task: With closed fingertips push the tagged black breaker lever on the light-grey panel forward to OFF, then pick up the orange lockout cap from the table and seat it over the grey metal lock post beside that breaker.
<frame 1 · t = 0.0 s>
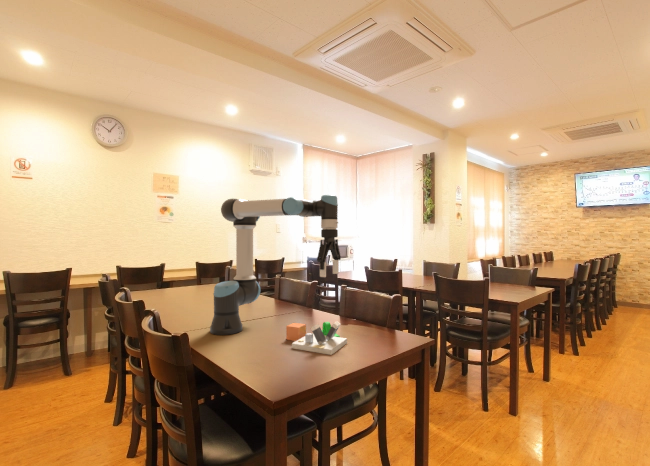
hand: (329, 275, 156), 28 cm above the table, fingers open, 13 cm apart
lock post: (309, 347, 141), resting on panel
panel: (320, 345, 143), on the table
lever plain: (332, 330, 144), point 6 cm above the table, hinge at 30.0°
lever tagged: (318, 334, 139), point 6 cm above the table, hinge at -30.0°
mechanical part: (328, 337, 156), on the table
lockout cap: (296, 338, 153), on the table
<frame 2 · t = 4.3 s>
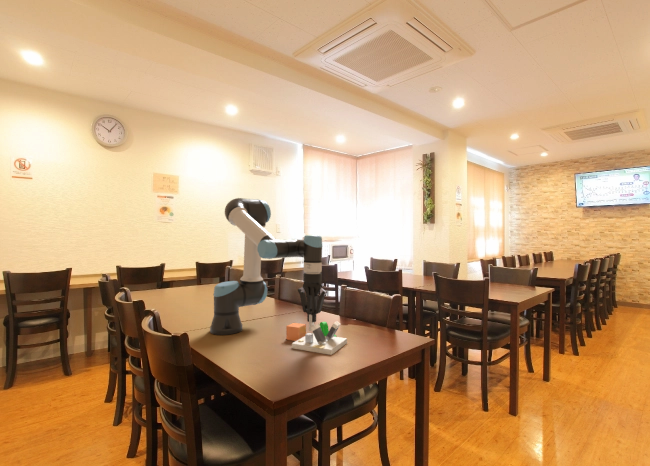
hand: (311, 329, 140), 7 cm above the table, fingers closed
lever tagged: (318, 334, 139), point 6 cm above the table, hinge at -29.4°, touching gripper
mechanical part: (324, 337, 156), on the table, touching panel
everything else where it was.
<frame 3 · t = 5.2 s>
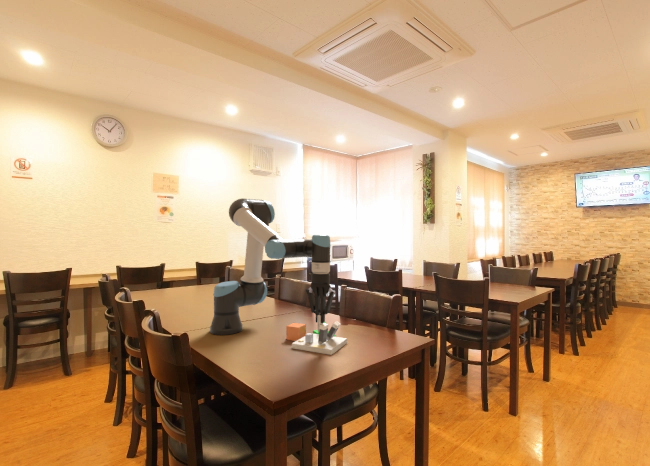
hand: (320, 330, 138), 8 cm above the table, fingers closed
lever tagged: (323, 333, 138), point 6 cm above the table, hinge at 8.2°, touching gripper
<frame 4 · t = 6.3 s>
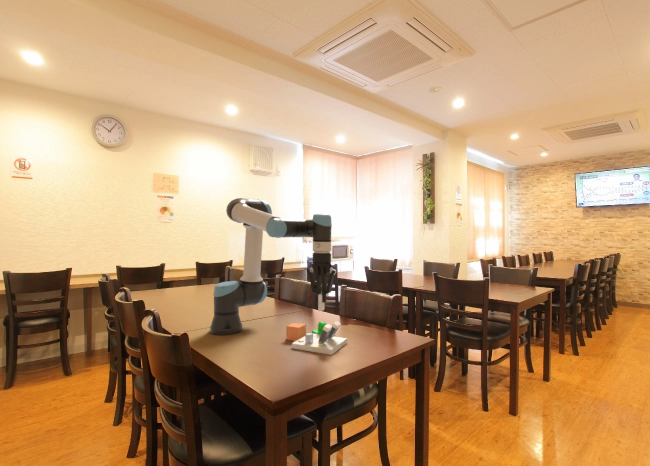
hand: (321, 310, 139), 16 cm above the table, fingers closed
lever tagged: (324, 334, 138), point 6 cm above the table, hinge at 22.4°
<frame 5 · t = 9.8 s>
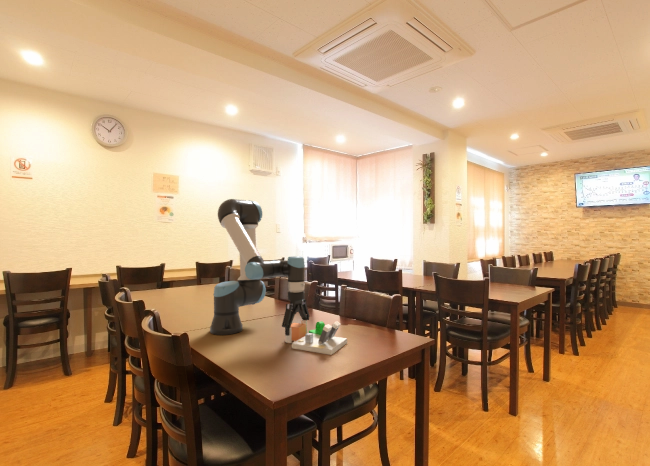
hand: (296, 338, 153), 0 cm above the table, fingers open, 13 cm apart
lever tagged: (324, 334, 138), point 6 cm above the table, hinge at 22.8°
mechanical part: (320, 337, 156), on the table, touching panel
everything else where it was.
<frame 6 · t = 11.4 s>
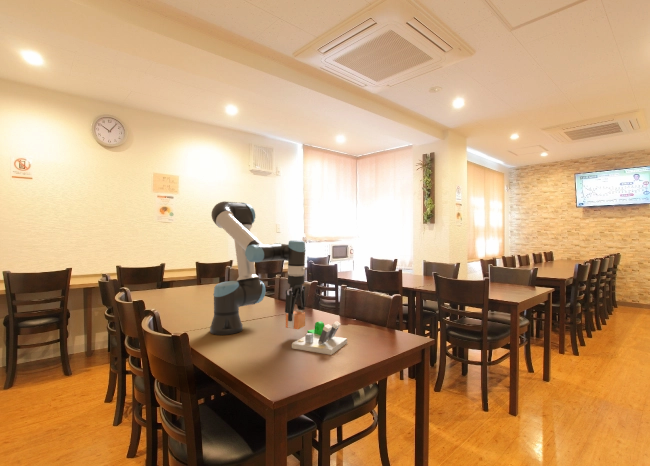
hand: (295, 325, 153), 6 cm above the table, fingers closed on lockout cap, 6 cm apart
lockout cap: (295, 326, 153), point 5 cm above the table, touching gripper
when the fingers open (3 cm above the table, at t = 15.5 s): lockout cap stays where it is, resting on panel.
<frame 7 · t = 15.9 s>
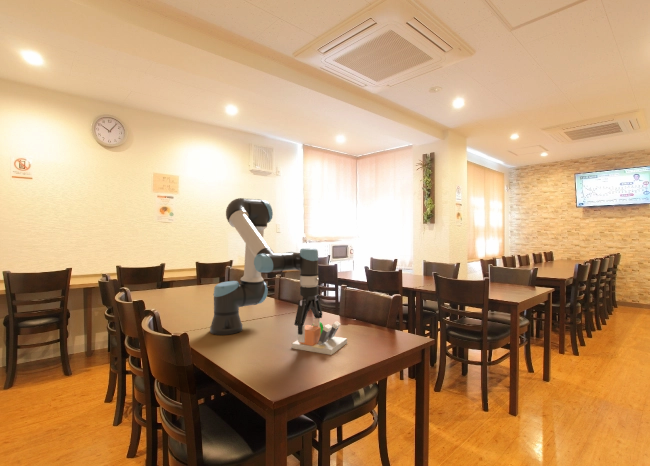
hand: (309, 337, 141), 4 cm above the table, fingers open, 12 cm apart
mechanical part: (316, 337, 156), on the table, touching panel
lockout cap: (309, 342, 141), point 2 cm above the table, touching panel
everything else where it was.
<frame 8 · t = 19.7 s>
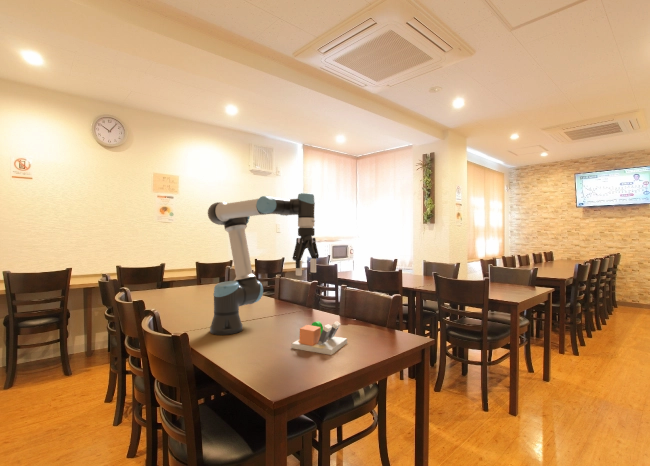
hand: (306, 274, 155), 29 cm above the table, fingers open, 13 cm apart
at the end: lever tagged at +23° (first picture: -30°); lockout cap 0.3 cm off-centre on the lock post, point 2.2 cm above the lock post's base; lockout cap tilted 3° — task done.
